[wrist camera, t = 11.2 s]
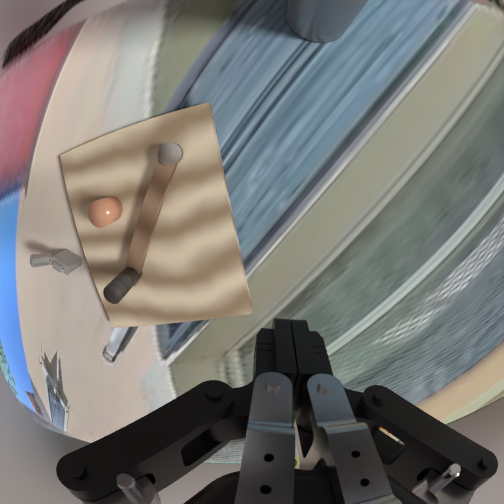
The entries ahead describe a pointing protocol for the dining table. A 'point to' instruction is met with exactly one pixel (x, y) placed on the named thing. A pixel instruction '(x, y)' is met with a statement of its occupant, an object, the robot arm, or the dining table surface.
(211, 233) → the board
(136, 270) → the lever
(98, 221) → the peach rounded cube
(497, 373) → the dining table surface
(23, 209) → the dining table surface
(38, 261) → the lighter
